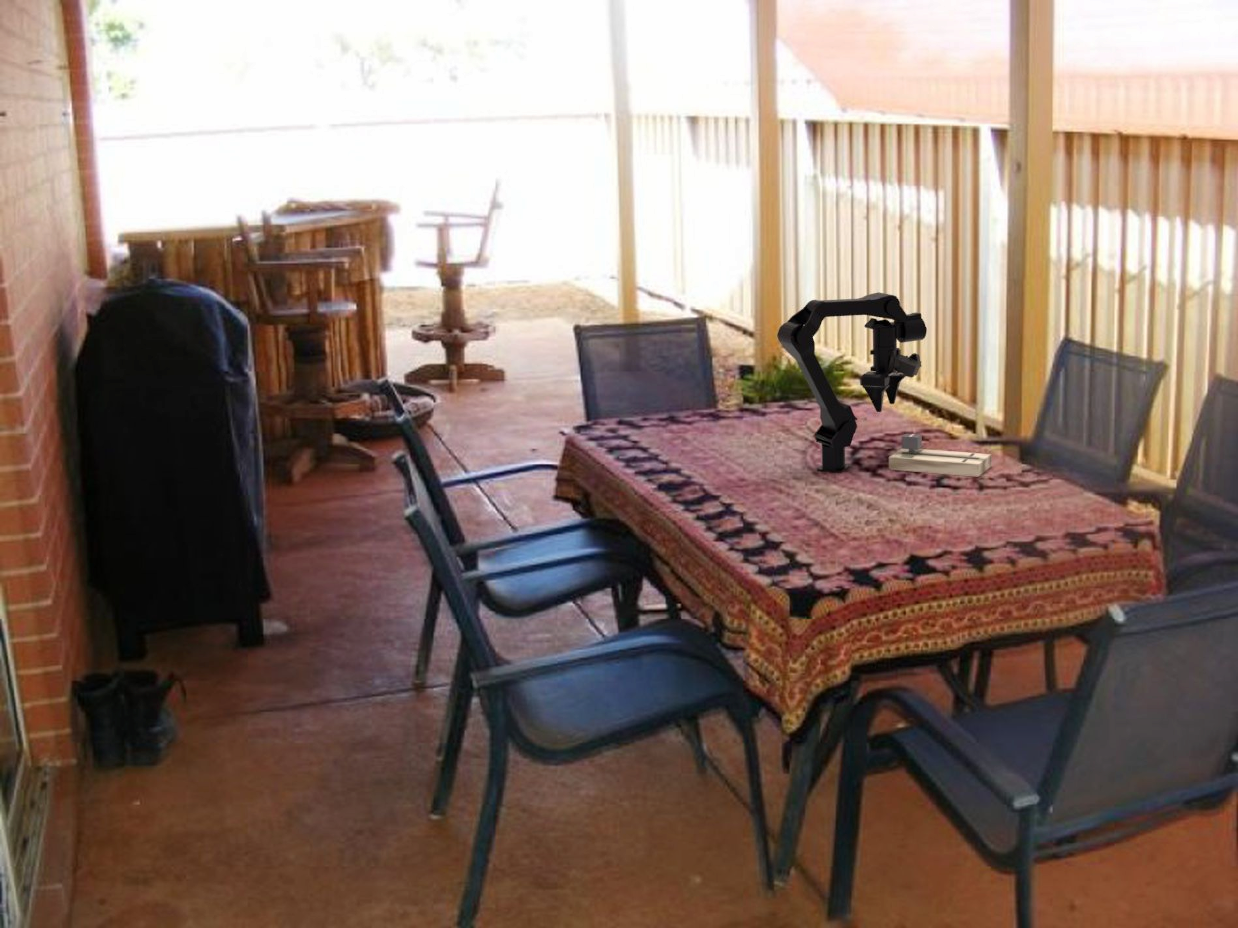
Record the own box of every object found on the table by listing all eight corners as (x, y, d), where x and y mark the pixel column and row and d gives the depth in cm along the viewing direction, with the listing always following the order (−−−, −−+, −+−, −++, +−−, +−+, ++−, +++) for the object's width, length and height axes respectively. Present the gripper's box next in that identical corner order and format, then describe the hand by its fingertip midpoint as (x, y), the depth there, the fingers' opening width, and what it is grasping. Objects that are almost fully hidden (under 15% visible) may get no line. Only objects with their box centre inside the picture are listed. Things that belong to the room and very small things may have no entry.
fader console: (978, 476, 353) (978, 463, 353) (888, 469, 364) (888, 456, 363) (991, 466, 362) (991, 453, 361) (903, 459, 373) (902, 447, 372)
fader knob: (917, 454, 363) (917, 437, 362) (901, 452, 365) (901, 436, 364) (921, 451, 366) (921, 434, 365) (906, 450, 368) (905, 433, 367)
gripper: (903, 353, 355) (904, 418, 359) (929, 339, 370) (929, 401, 374) (858, 351, 360) (859, 415, 364) (886, 338, 376) (886, 399, 380)
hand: (885, 407), depth 370 cm, fingers open, 9 cm apart
